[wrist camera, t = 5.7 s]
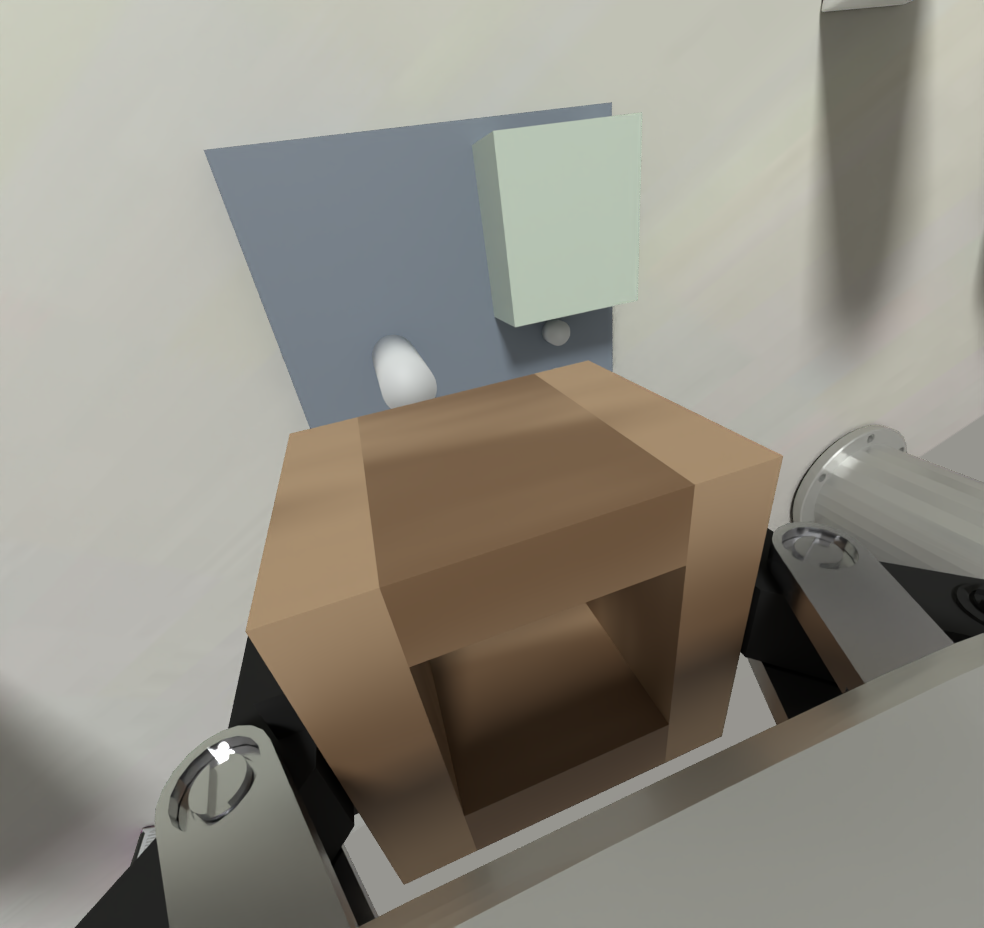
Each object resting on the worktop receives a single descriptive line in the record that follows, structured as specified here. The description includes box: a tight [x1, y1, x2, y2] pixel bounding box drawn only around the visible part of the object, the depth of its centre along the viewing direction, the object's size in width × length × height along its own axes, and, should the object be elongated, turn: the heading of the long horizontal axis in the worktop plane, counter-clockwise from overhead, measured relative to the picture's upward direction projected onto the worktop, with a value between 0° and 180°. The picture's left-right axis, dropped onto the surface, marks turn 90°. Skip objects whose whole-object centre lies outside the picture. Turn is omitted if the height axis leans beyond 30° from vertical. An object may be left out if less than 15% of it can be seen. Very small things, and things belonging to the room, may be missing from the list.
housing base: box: [204, 102, 612, 429], centre depth 22 cm, size 16×19×7 cm
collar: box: [246, 360, 783, 884], centre depth 9 cm, size 6×6×5 cm
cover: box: [472, 112, 642, 327], centre depth 22 cm, size 8×7×3 cm
